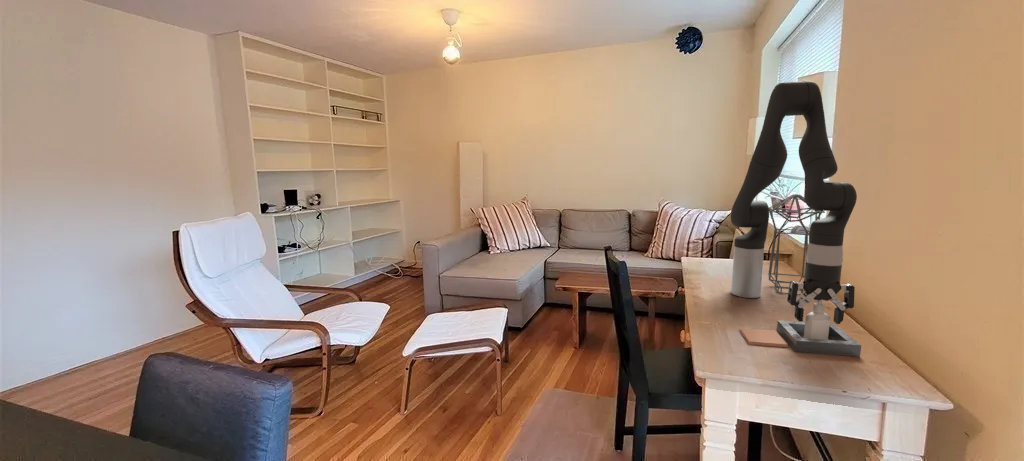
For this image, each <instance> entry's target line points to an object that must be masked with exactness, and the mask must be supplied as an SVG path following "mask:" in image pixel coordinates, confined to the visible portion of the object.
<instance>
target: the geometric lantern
mask: <svg viewBox="0 0 1024 461" xmlns="http://www.w3.org/2000/svg"><path fill="white" fill-rule="evenodd" d="M799 200H800V201H802V202H803V203H804V204H806V203H805V200H804V195H801V194H798V193H797V194H796V193H795V194H794V193H793V194H791V195H790V196H787V197H786V198H784V199H782V200H780V201H778V202H776V203H774V204H773V205H771V206H770V207H769V206H768V207H769V217H770V219H771V220H772V224H773V228H774V230H773V239H772V244H771V246H772V247H771V253H770V260H769V268H768V281H770V282H771V283H772V284H774V288H775V290H776V292H777V293H778V294H786V295H788V292H783V289H789V286H784V285H783V286H782V285H781V283H783V284H790V282H791V281H789V280H788V281H787V280H778V276H788V277H789V276H791V277H792V276H793V277H800V279H799V281H798V282H799V283H803V281H802V279H803V277H804V278H805V264H806V255H807V249H808V245H809V236H810V229H807V228H806V226H805V224H804V222H803V220H805V219H808V218H810V217H812V216H813V217H814V221H816V220H820V219H821V215H822V214H825V213H826V211H815V210H812V209H811V208H809V207H804V208H801V206H800V202H799ZM790 201H791V203H790V207H789V208H783V207H784V206H785V205H786V204H788V203H789V202H790ZM794 203H795V204H796V209H793V206H794ZM804 210H805V212H801V211H804ZM811 210H812V211H811ZM773 212H774V213H776V214H778V215H779V216H780V217H782V218H783V219H785V220H784V221H783V224H782V225H781V226H780V227H779V228H777V226H776V223H775V219H774V216H773V215H774V213H773ZM792 214H797V216H795V215H794V216H793V215H792ZM804 215H806V216H804ZM802 216H804V217H802ZM792 222H793V223H794V222H796V223H797V222H798V223H799V224H800V225H801V226H802V228H803V229H797V228H796V229H794V228H793V229H792V228H791V229H790V228H784V227H785V226H786V225H788V223H792ZM781 231H796V233H795V232H781ZM797 231H799V232H800V231H801V232H802V231H804V233H797ZM781 234H783V235H799V236H800V235H803V236H804V242H803V243H804V245H803V254H802V256H803V257H802V269H801V274H793V273H791V274H790V273H779V261H780V260H779V256H780V243H781V242H780V238H781ZM776 242H777V244H776ZM775 248H776V252H775ZM774 256H775V258H774ZM774 259H775V260H774ZM773 263H774V269H773ZM772 271H773V272H772ZM773 275H774V277H773ZM774 278H775V279H774ZM801 281H802V282H801ZM800 291H801V293H797V296H800V295H801V294H802V293H803V292H804V291H805V290H804V289H803V287H802V288H800Z"/></svg>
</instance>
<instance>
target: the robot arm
mask: <svg viewBox="0 0 1024 461" xmlns="http://www.w3.org/2000/svg"><path fill="white" fill-rule="evenodd" d="M824 111H825V110H824V104H823V97H822V93H821V89H820V86H819V85H818V84H817V83H816V82H815V81H813V80H801V81H800V80H796V81H793V80H792V81H781V82H779V83H778V84H776V85H775V86H774V88H773V90H772V92H771V94H770V96H769V100H768V103H767V108H766V111H765V116H764V120H763V125H762V128H761V131H760V134H759V138H758V139H757V140H758V141H757V144H756V146H755V148H754V150H753V153H752V155H751V156H752V157H751V158H750V162H749V165H748V169H747V172H746V175H745V178H744V180H743V183H742V185H741V187H740V190H739V192H738V194H737V196H736V198H735V199H734V202H733V205H732V208H731V211H730V222H731V224H732V225H733V226H734V227H736V228H746V229H747V228H750V230H748V232H746V233H744V234H742V235H738V236H736V237H735V238H734V241H733V242H734V243H733V244H734V245H733V260H732V273H731V274H732V275H731V288H730V292H731V294H732V295H734V296H737V297H740V298H746V299H755V298H759V297H761V293H762V292H761V291H762V279H763V270H764V256H765V255H764V254H765V245H766V241H767V234H768V226H769V222H770V221H769V220H770V212H769V205H768V203H767V201H764V200H754V199H755V198H756V197H757V196H758V195H759V194H761V192H762V191H764V190H765V189H767V188H768V187H770V185H771V184H774V182H775V181H776V180H778V178H779V177H780V175H781V174H782V171H783V170H784V167H785V164H786V163H787V159H788V150H787V147H786V143H785V142H784V139H783V137H782V134H781V128H782V123H783V120H784V119H785V117H791V116H803V118H804V121H805V122H806V128H805V131H804V133H803V136H802V138H801V140H800V143H799V146H798V157H799V161H800V165H801V166H802V169H803V173H804V193H803V197H804V200H805V203H804V204H806V206H807V208H811V209H812V211H814V210H815V211H822V212H823V211H824V212H828V213H827V215H826V216H825V217H823V218H820V220H819V219H818V220H816V221H815V220H814V221H812V222H811V223H810V227H809V230H810V236H809V235H808V249H807V255H806V254H805V265H804V275H805V277H804V280H803V281H802V282H803V283H802V282H800V283H799V281H794V280H790V281H789V282H790V283H789V286H788V287H789V288H788V292H787V293H788V294H787V299H786V300H787V302H788V303H789V304H790V305H791V306H794V318H795V319H796V320H797V322H804V311H805V309H804V307H805V305H807V304H808V303H810V302H812V300H814V301H818V300H822V301H827V302H828V301H831V302H832V303H833V304H834V306H835V307H834V311H833V312H834V313H833V322H834V324H835V325H841V323H843V321H844V316H845V310H847V309H854V307H855V286H854V285H852V284H851V283H849V282H846V283H844V284H841V280H842V279H841V276H842V269H843V262H844V248H843V246H844V237H845V236H844V234H845V229H846V226H847V224H848V222H849V219H850V217H851V215H852V212H853V211H854V209H855V206H856V203H857V197H858V195H857V191H856V188H855V187H854V186H853V185H852V183H849V182H846V181H845V182H844V181H838V182H837V181H836V182H834V181H833V182H825V181H824V180H826V179H829V178H831V177H833V176H834V175H836V174H837V172H838V164H837V161H836V158H835V155H834V152H833V150H832V148H831V144H830V142H829V138H828V133H827V125H826V117H825V112H824ZM815 211H814V212H815ZM800 288H802V289H804V290H805V291H804V290H803V293H802V292H801V293H800V294H801V295H799V297H798V295H797V294H798V293H799V292H798V291H801V289H800ZM840 291H842V292H843V302H842V301H841V299H840V298H839V297H838V295H837V294H838V293H840ZM797 297H798V298H797Z"/></svg>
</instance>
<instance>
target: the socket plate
mask: <svg viewBox="0 0 1024 461" xmlns="http://www.w3.org/2000/svg"><path fill="white" fill-rule="evenodd" d="M804 329H805V321H803V322H799V321H798V320H797V321H796V320H794V321H793V320H781V319H780V320H777V324H776V331H777V333H778V334H779V335H780V336H781V337H782V338H783V340H784V341H785V342H786V343H787V344H788V345H789V346H790V347H791V348H792V350H793V351H794V352H795V353H803V354H804V353H805V354H806V353H807V354H817V355H818V354H819V355H830V356H831V355H832V356H843V357H844V356H845V357H856V358H860V357H861V352H862V345H861V343H859V342H858V341H857V340H855V338H854V337H852V336H850V335H849V334H848V333H846V332H845V331H844V330H843V329H842V328H840V327H839V326H838V324H836V323H830V325H829V335H828V338H830V339H828V340H823V339H809V338H804V337H802V336H804ZM801 335H802V336H801Z"/></svg>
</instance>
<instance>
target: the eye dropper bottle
mask: <svg viewBox="0 0 1024 461" xmlns="http://www.w3.org/2000/svg"><path fill="white" fill-rule="evenodd" d="M825 307H826V305H825V304H824V303H823V300H816V302H814V303H813V308H812V311H810V312H809V313H807V314H806V315H805V321H804V322H805V329H804V335H803V338H809V339H823V340H829V337H828V335H829V325H830V324H831V316H830V315H829V314H828V313H826V312H825V309H826V308H825Z"/></svg>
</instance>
